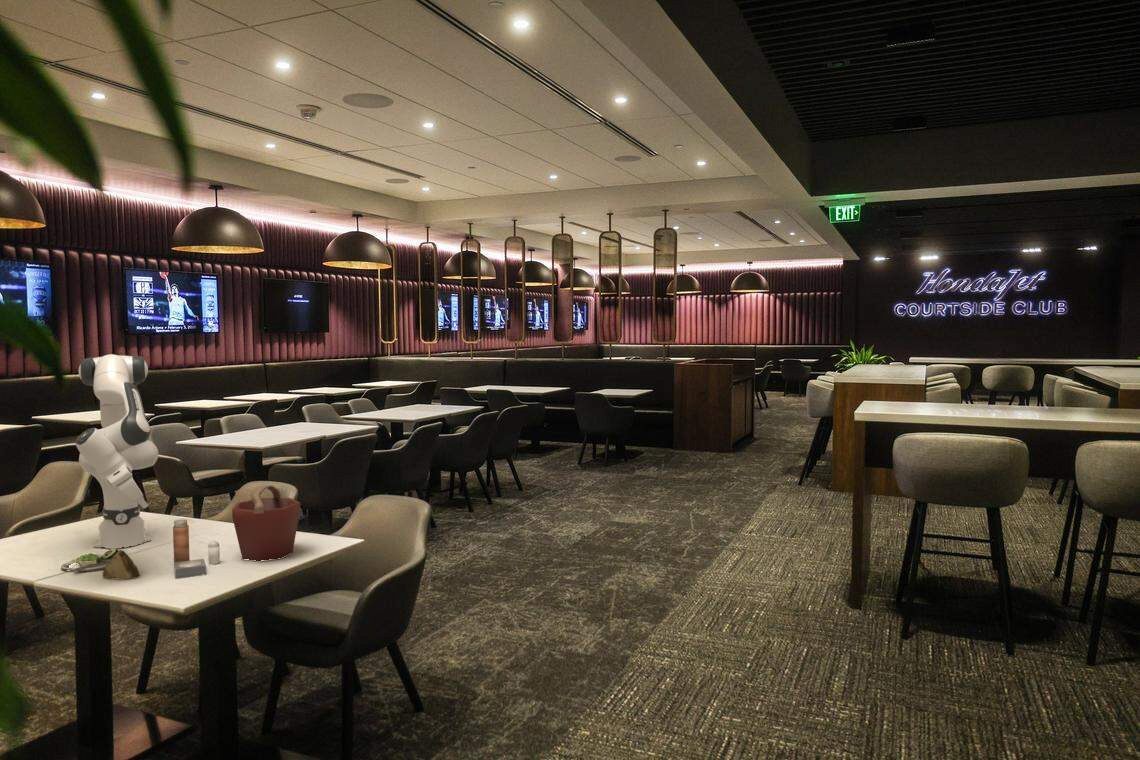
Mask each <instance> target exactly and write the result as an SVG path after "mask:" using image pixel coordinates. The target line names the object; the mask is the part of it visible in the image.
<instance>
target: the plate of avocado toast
mask: <svg viewBox="0 0 1140 760" xmlns="http://www.w3.org/2000/svg"><path fill="white" fill-rule="evenodd" d="M118 551H119V548H109V549H108V550H107V551H106V552H104V553H88V554H86V553H85V554H82V555H80V556H78V557H76V558H74V559H72V560H69V561H67V562H65V563H62V564H61V565H60V568H61V569H62V570H64V571H66V570H70V571H80V572H79V573H84V572H83V571H87V572H92V571H91V570H94V571H99V570H98V569H100V570H104V569H103V568H105V566H106V565H107V563H108V562H109V560H110V559H111V558H113V556H114V555H115V554H116V553H117V552H118ZM73 563H78V564H79V565H78V564H77V565H78V566H79V567H76V568H73V567H72V568H69V565H71V564H73Z"/></svg>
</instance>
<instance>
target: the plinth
mask: <svg viewBox="0 0 1140 760" xmlns="http://www.w3.org/2000/svg"><path fill="white" fill-rule="evenodd" d="M173 569H174V577H175V579H176V578H177V579H182V578H183V577H184V578H190V576H191V577H196V576H195V575H198V576H203V575H202V574H205V575H207V565H206V562H205V559H204V558H199V559H192V560H191V559H190V560H189V561H182V562H174V561H173Z"/></svg>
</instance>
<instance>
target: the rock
mask: <svg viewBox="0 0 1140 760" xmlns="http://www.w3.org/2000/svg"><path fill="white" fill-rule="evenodd" d="M140 576H141V577H142V575H141V572H140V570H139V568H138V566H137V565H135V563H134V561H133V560H132V558H131V557H130V556H129V555H128V554H127V552H125V550H122V549H118V552H117V553H116V554H115V555H114V556H113V558H111V559H110V560H109V562H108V563H107V565H106V566H105V569H103V572H102V578H103V577H104V578H103V579H111V578H118V579H117V580H133V579H137V578H139V577H140ZM141 577H140V578H141Z"/></svg>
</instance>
